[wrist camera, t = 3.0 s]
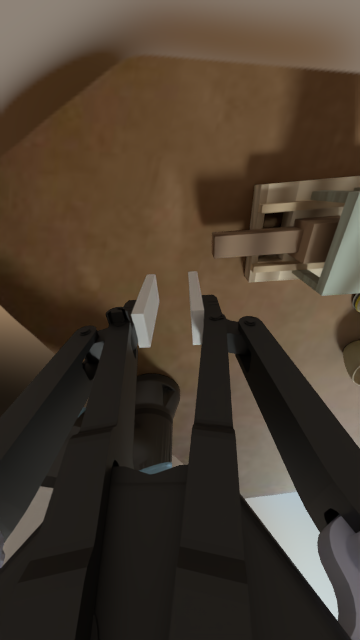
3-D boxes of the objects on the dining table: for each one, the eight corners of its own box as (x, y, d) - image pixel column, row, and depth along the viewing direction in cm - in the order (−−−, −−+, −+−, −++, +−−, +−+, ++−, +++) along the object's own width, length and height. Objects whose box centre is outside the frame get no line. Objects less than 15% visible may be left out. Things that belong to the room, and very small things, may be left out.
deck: (244, 275, 37) (266, 306, 27) (254, 184, 29) (290, 183, 19) (372, 267, 35) (443, 296, 26) (419, 170, 28) (545, 161, 18)
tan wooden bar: (211, 259, 32) (216, 269, 28) (212, 225, 29) (217, 231, 25) (325, 250, 31) (348, 260, 27) (337, 215, 28) (364, 220, 24)
